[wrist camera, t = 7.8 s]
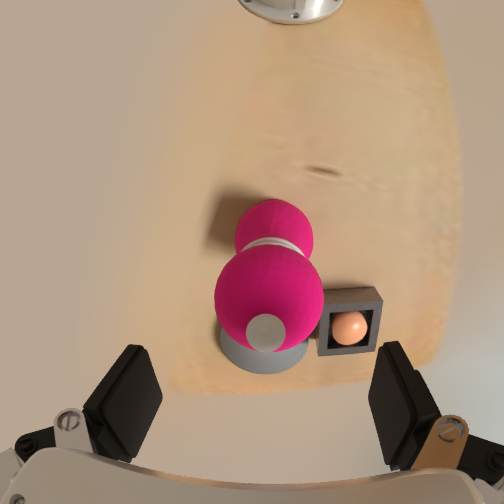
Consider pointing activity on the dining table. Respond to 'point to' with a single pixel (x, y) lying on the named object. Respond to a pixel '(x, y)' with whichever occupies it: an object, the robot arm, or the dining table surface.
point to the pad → (261, 356)
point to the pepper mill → (270, 280)
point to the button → (348, 327)
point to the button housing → (343, 302)
